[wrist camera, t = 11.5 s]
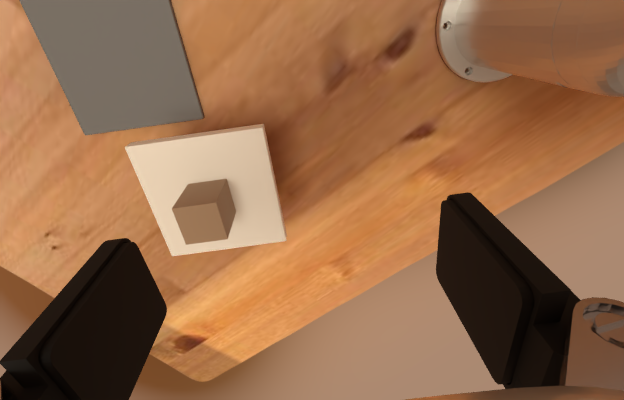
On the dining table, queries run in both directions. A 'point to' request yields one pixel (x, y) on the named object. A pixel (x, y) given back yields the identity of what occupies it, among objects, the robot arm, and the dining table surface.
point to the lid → (211, 189)
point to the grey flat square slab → (117, 61)
